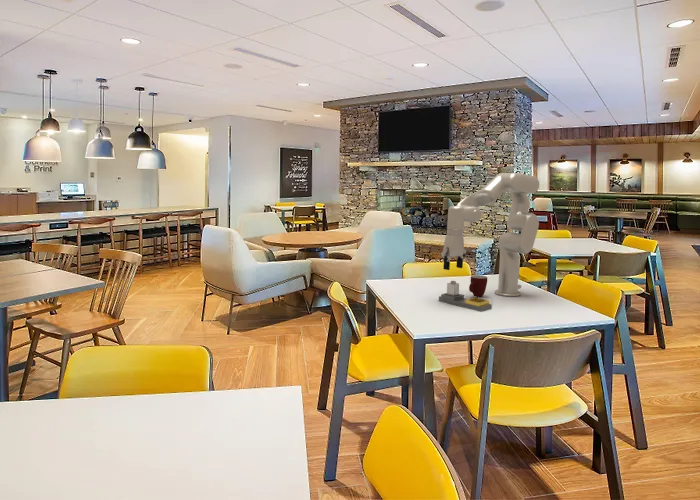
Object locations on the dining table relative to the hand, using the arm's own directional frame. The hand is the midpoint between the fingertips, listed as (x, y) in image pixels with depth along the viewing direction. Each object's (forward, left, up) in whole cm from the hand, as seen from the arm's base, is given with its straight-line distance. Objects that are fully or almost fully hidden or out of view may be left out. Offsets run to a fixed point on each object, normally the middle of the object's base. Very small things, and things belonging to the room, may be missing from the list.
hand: (452, 268), depth 233 cm
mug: (-19, +1, -16) cm, 25 cm away
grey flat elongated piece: (-1, +7, -16) cm, 18 cm away
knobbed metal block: (-1, 0, -14) cm, 14 cm away
